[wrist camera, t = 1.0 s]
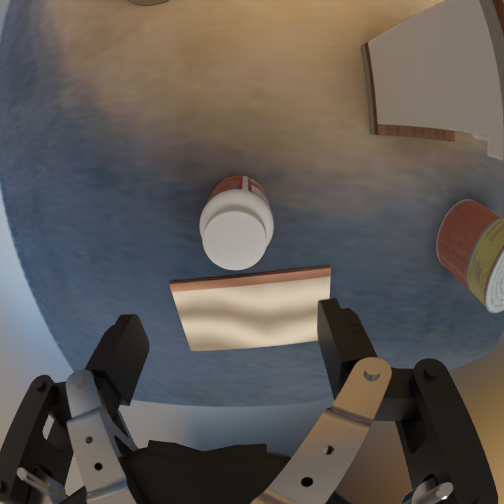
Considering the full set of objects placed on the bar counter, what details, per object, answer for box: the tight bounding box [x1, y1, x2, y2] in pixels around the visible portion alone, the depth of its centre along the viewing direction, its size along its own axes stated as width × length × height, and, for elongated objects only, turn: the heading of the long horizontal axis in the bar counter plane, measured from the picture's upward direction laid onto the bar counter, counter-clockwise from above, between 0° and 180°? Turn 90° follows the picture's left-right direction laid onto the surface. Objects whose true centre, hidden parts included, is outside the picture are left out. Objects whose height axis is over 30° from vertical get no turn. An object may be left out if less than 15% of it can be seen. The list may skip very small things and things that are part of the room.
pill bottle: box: [200, 175, 274, 270], centre depth 25 cm, size 6×6×11 cm
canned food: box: [436, 199, 504, 313], centre depth 26 cm, size 11×11×12 cm
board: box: [169, 265, 331, 351], centre depth 36 cm, size 12×20×1 cm, turn 96°
